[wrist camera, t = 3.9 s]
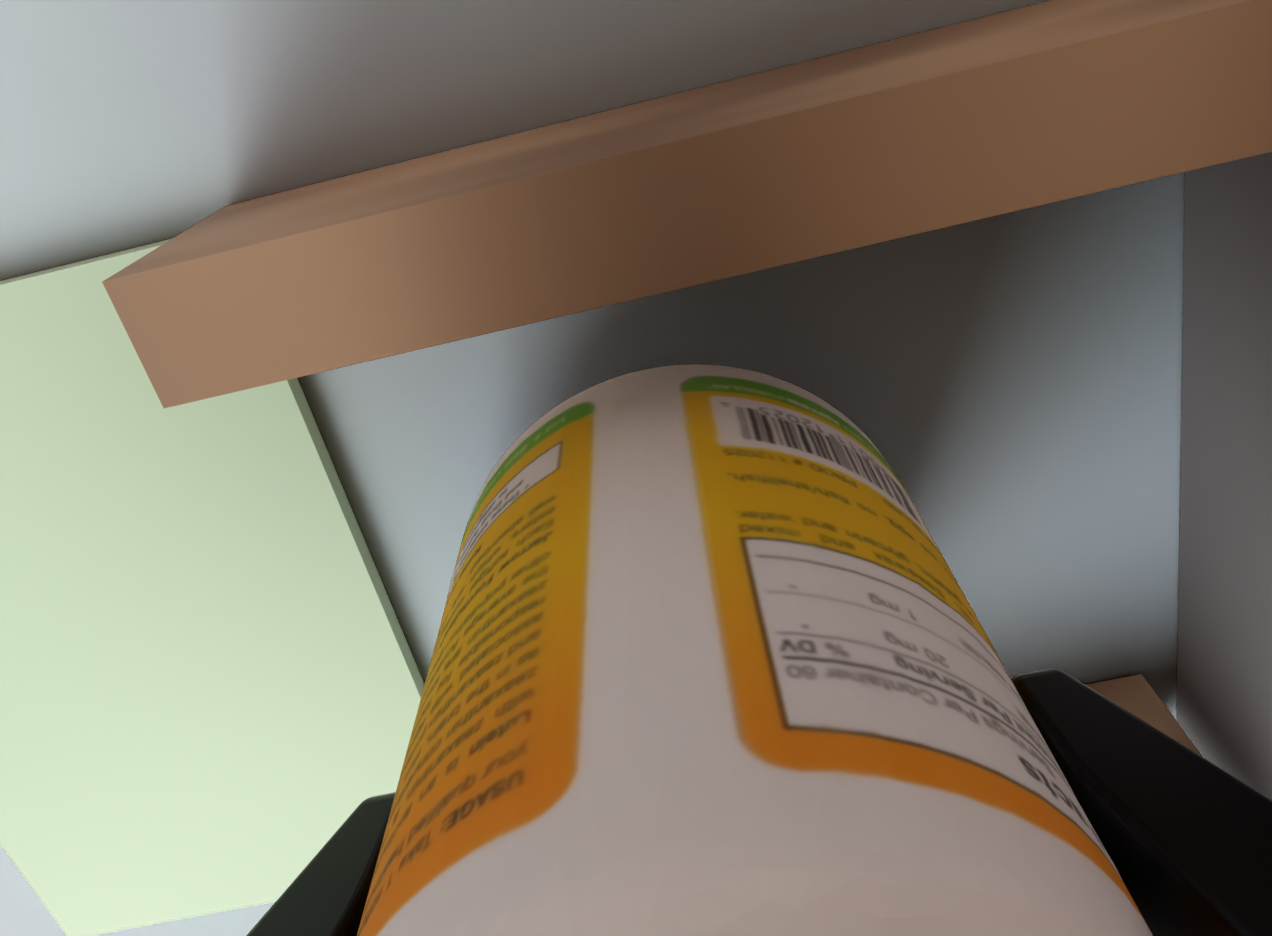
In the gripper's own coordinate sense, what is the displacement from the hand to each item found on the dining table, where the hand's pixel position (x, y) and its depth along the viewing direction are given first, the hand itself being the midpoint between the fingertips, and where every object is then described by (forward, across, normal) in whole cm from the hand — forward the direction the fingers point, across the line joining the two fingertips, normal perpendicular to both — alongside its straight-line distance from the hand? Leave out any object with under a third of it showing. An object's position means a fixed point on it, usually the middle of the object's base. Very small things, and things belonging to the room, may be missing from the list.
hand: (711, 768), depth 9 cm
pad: (+4, +8, 0) cm, 9 cm away
